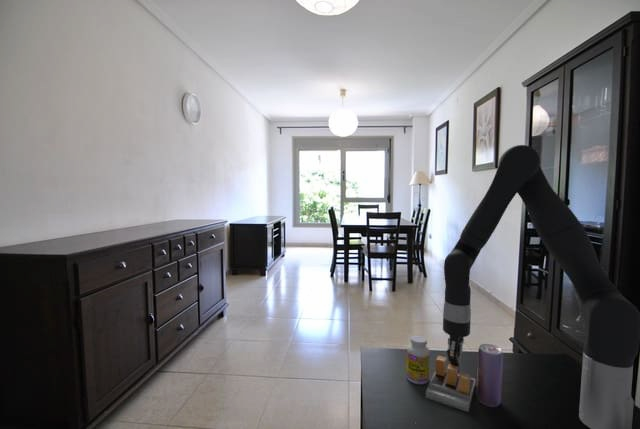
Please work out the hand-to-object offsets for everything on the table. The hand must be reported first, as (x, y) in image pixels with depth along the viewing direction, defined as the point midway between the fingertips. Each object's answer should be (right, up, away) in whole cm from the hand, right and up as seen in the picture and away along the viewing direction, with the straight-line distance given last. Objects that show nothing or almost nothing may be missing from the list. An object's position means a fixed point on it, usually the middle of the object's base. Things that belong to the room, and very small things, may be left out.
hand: (454, 372), depth 98 cm
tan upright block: (-1, -2, -8) cm, 8 cm away
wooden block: (-4, -1, +1) cm, 4 cm away
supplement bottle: (-10, -3, +2) cm, 11 cm away
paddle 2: (-2, -1, -3) cm, 4 cm away
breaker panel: (-3, -4, -4) cm, 6 cm away
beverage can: (+6, -4, -8) cm, 11 cm away
